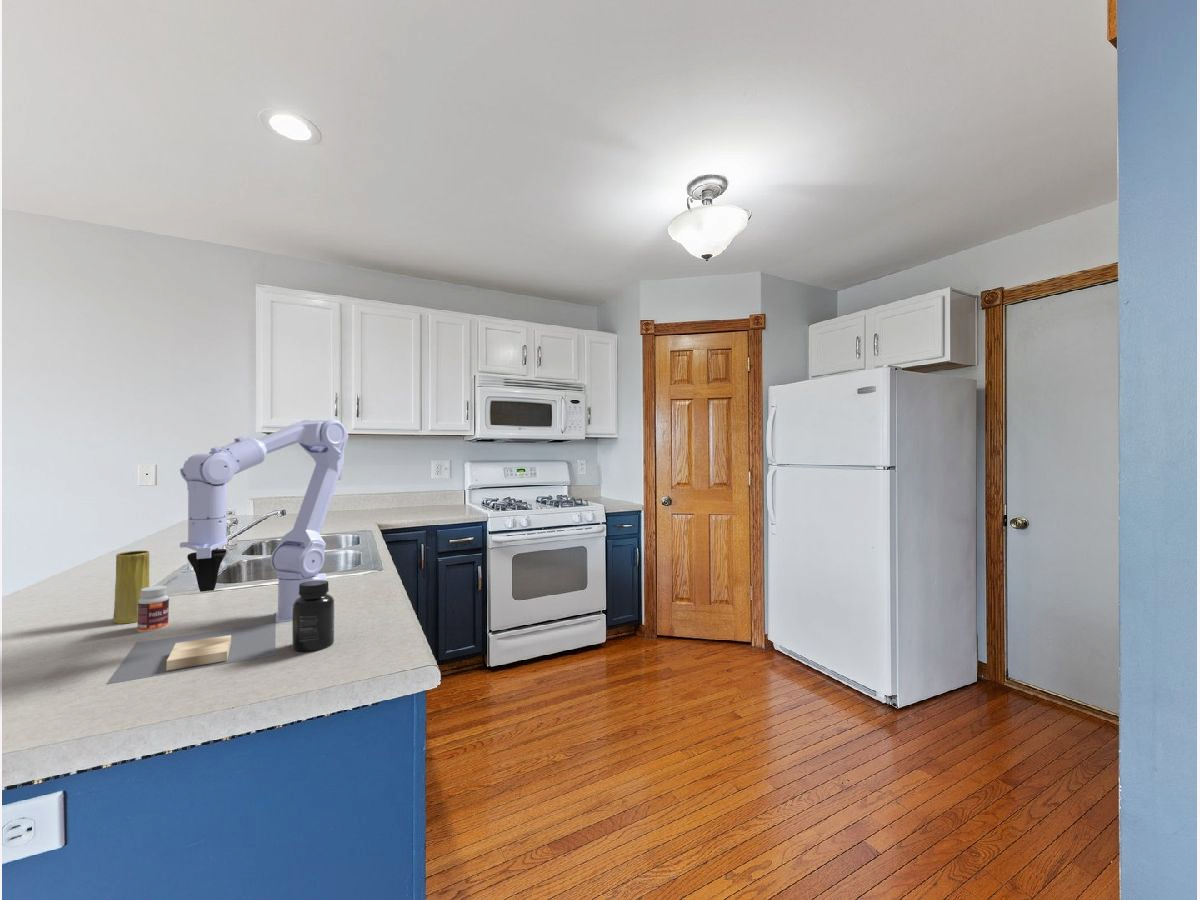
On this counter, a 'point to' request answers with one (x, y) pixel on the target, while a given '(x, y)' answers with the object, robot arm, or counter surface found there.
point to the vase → (130, 584)
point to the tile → (199, 652)
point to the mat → (154, 653)
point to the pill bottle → (153, 609)
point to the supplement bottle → (313, 617)
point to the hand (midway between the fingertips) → (207, 590)
